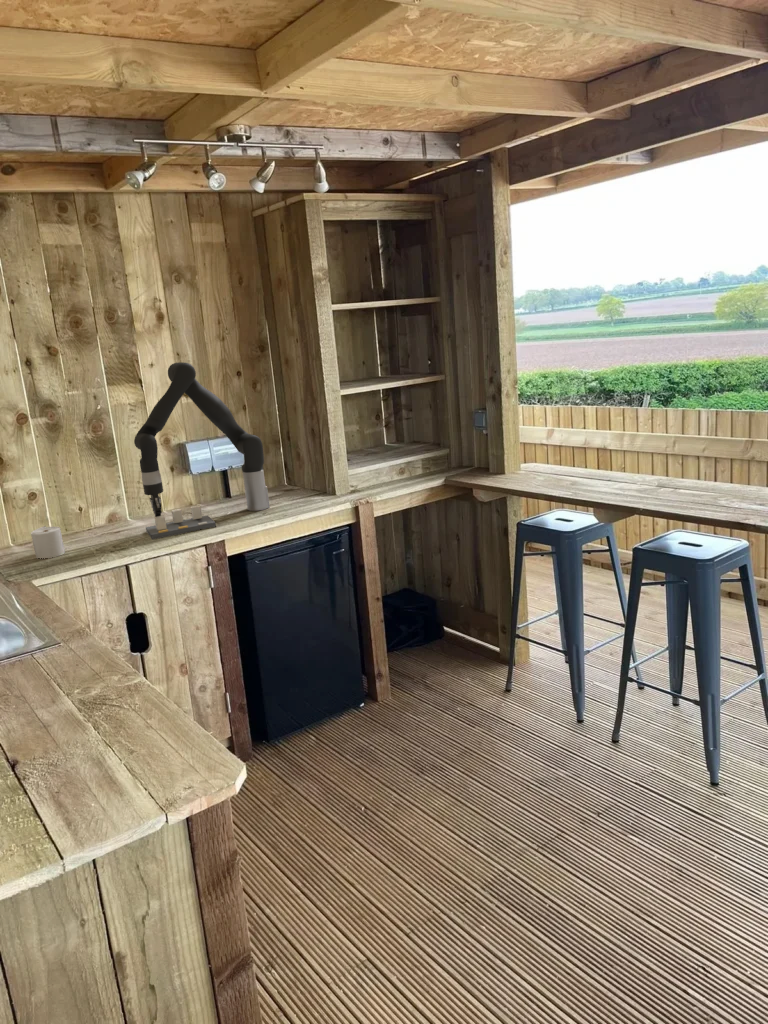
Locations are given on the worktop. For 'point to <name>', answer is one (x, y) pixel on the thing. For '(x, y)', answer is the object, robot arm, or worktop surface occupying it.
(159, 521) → the slider
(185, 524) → the switch board
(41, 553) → the toilet tissue
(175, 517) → the slider middle
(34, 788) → the worktop surface
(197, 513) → the slider
